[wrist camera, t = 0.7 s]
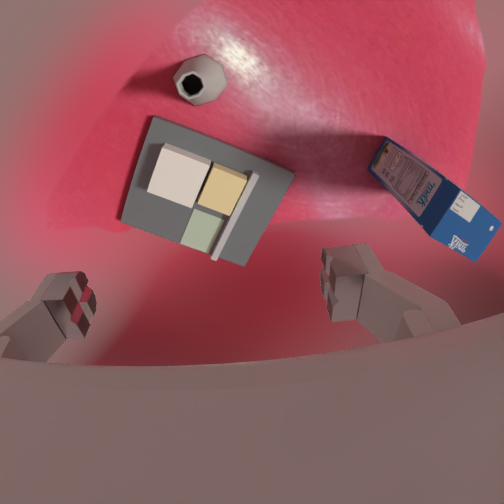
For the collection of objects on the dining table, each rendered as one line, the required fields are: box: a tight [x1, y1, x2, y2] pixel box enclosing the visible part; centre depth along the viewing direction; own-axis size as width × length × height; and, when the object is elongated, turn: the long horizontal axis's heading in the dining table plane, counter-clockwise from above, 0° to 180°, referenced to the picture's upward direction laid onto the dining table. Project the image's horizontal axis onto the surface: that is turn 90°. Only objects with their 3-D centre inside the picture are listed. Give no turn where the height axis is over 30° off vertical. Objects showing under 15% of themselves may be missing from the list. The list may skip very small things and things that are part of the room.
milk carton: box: [367, 137, 502, 262], centre depth 38 cm, size 10×6×20 cm, turn 67°
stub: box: [198, 163, 247, 216], centre depth 45 cm, size 6×5×2 cm
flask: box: [173, 54, 228, 106], centre depth 34 cm, size 7×7×10 cm
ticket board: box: [120, 115, 296, 266], centre depth 47 cm, size 18×22×4 cm
